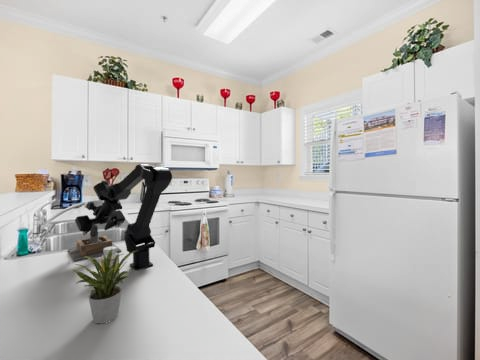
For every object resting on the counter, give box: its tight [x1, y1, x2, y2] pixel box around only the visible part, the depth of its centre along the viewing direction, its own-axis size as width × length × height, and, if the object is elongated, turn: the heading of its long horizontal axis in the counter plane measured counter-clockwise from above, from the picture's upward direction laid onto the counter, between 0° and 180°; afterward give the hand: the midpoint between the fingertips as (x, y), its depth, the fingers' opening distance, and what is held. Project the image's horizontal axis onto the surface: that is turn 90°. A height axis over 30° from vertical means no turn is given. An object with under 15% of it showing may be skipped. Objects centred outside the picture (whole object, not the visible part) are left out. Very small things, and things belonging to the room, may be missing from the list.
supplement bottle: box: [100, 245, 120, 278], centre depth 82 cm, size 5×5×10 cm
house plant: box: [72, 249, 138, 324], centre depth 60 cm, size 14×14×16 cm
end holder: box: [67, 235, 122, 263], centre depth 107 cm, size 18×17×5 cm
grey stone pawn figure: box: [87, 224, 102, 244], centre depth 107 cm, size 6×6×12 cm
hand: (94, 231), depth 107 cm, fingers open, 9 cm apart
